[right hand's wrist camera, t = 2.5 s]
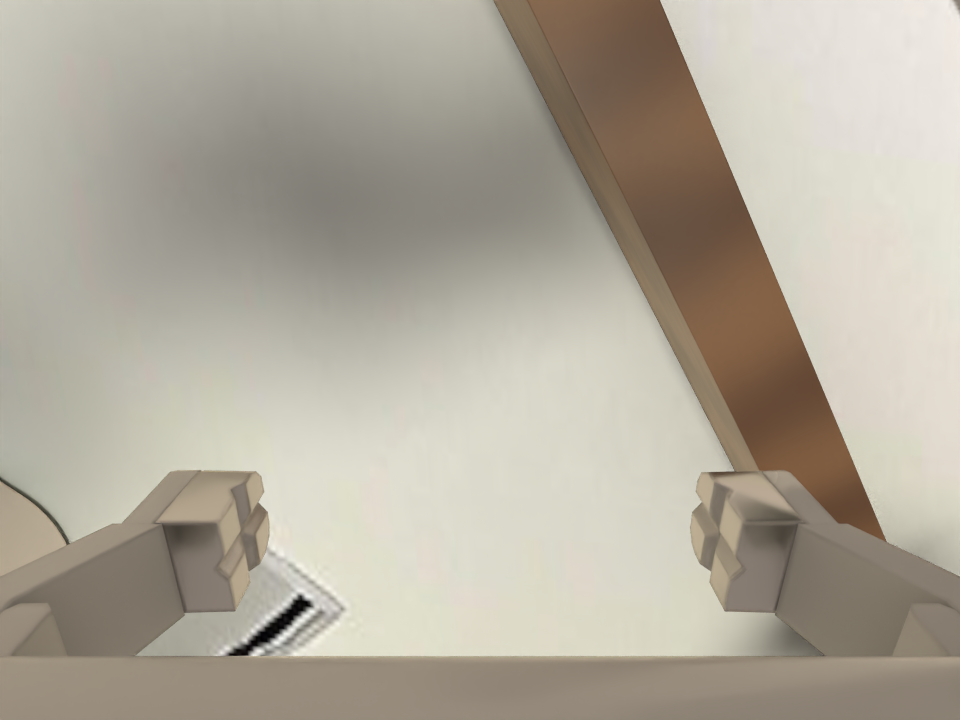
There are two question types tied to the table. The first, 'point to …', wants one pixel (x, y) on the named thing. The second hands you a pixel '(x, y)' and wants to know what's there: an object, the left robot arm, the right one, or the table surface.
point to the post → (687, 235)
